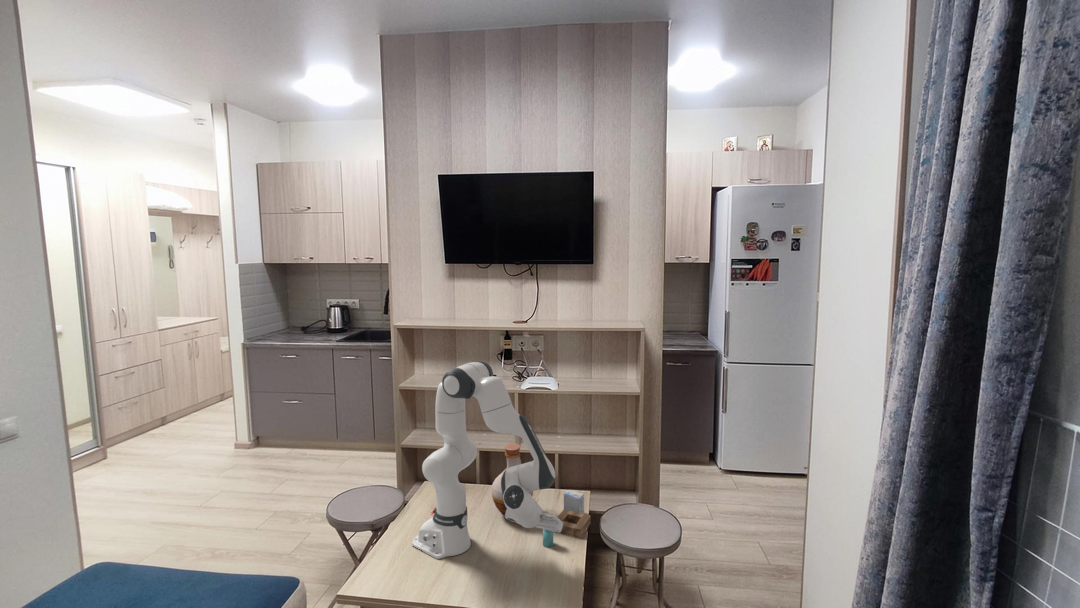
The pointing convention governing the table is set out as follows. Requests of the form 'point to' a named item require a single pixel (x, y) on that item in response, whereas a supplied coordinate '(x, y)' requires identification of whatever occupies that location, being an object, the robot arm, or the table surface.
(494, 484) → the jug
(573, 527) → the socket block
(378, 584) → the table surface
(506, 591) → the table surface
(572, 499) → the medicine box
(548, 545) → the peg
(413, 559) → the table surface
